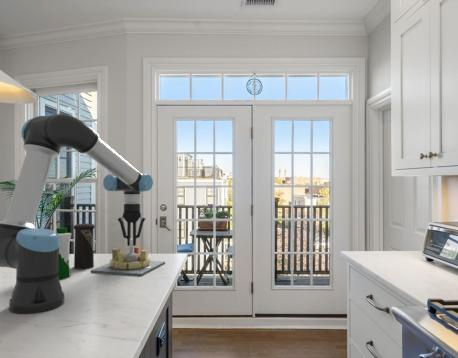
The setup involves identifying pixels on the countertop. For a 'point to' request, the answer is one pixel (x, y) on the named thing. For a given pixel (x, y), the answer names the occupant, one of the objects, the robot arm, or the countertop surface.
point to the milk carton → (63, 252)
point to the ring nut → (120, 262)
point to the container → (84, 246)
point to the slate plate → (134, 272)
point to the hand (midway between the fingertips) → (131, 252)
